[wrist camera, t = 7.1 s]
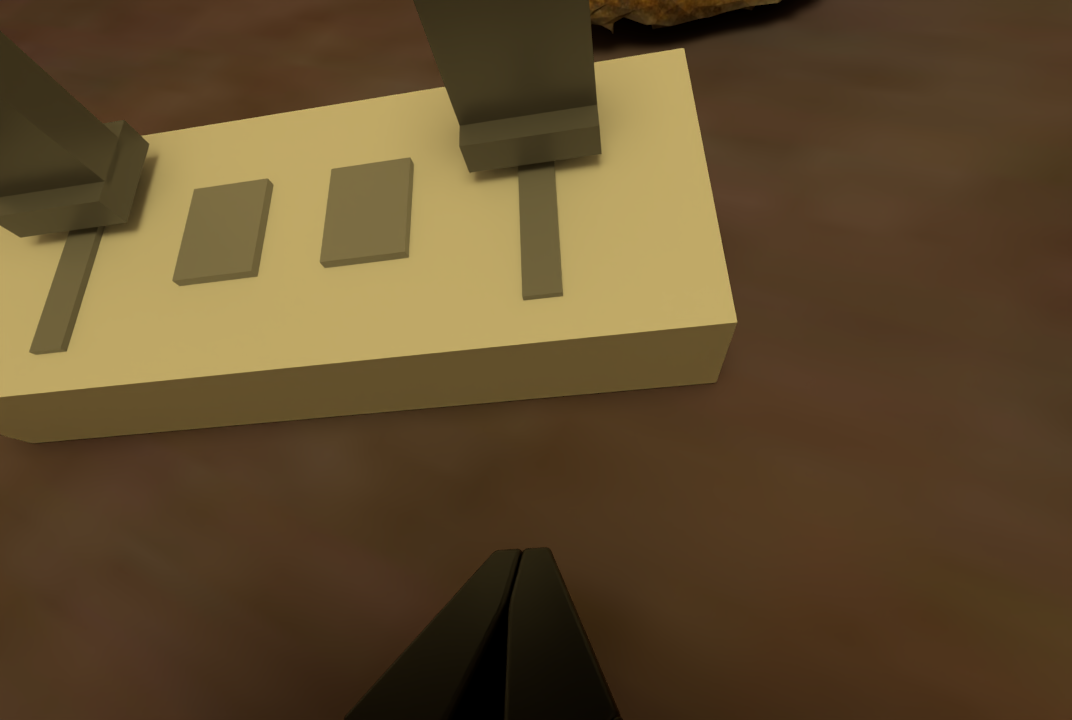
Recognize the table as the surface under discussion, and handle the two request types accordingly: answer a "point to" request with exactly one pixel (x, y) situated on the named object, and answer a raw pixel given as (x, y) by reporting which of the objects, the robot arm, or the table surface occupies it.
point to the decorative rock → (663, 10)
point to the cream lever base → (373, 271)
